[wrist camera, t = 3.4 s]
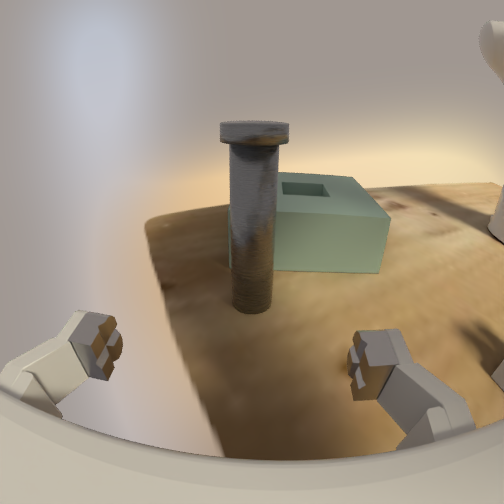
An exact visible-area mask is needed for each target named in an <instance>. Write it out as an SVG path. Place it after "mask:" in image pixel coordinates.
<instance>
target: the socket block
mask: <svg viewBox="0 0 504 504" xmlns="http://www.w3.org/2000/svg"><path fill="white" fill-rule="evenodd" d="M390 221H391V218H390V217H389V216H388V214H387V213H386V212H385V211H384V210H383V209H382V208H381V207H380V206H379V204H378V203H377V202H376V201H375V200H374V199H373V198H372V197H371V196H370V195H369V194H368V193H367V192H366V191H365V190H364V189H363V188H362V187H361V185H360V184H359V183H357V182H356V180H355V179H354V178H353V177H346V176H333V175H320V174H304V173H286V172H278V188H277V210H276V231H275V250H274V269H273V270H284V271H313V272H346V273H379V270H380V266H381V262H382V257H383V253H384V249H385V245H386V240H387V235H388V231H389V226H390ZM228 240H229V268H232V267H231V225H230V205H229V208H228Z"/></svg>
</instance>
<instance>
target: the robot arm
mask: <svg viewBox="0 0 504 504" xmlns="http://www.w3.org/2000/svg"><path fill="white" fill-rule="evenodd" d="M479 45H480V49H481V53H482V55H483V57H484V59H485V61H486V63H487V64H488V65H489V67H490V68H491V69H492V70H493V71H494V72H495V73H496V74H497V76H498V77H499V78H500V79H501V81H502V83H503V84H504V22H500V21H488V22H486V24H485V25H484V26H483V27H482V29H481V31H480V35H479ZM488 229H489V230H490V232H491V233H492V234H493V235H494V236H496V237H497V238H498V239H499V240H501V241H502V242H503V243H504V185H503V188H502V191H501V194H500V197H499V200H498V203H497V206H496V209H495V212H494V214H493V215H491V218H490V222H489V224H488ZM116 326H117V323H116V320H115V317H113V316H110V315H104V314H99V313H94V312H87V311H81V310H78V311H75V313H74V314H73V315H72V317H71V318H70V319H69V321H68V322H67V323H66V325H65V326H64V327H63V329H62V330H61V332H60V333H59V334H58V336H57V337H56V338H51V339H49V340H47V341H46V342H44V343H42V344H40V345H38V346H37V347H35V348H33V349H31V350H29V351H28V352H26V353H24V354H22V355H20V356H19V357H17V358H15V359H13V360H12V361H10V362H8V363H7V364H6V366H5V367H4V369H3V370H2V372H1V373H0V504H504V419H502V420H499V421H497V422H494V423H492V424H489V425H486V426H484V427H481V428H478V429H476V426H475V424H474V421H473V418H472V416H471V413H470V411H469V408H468V406H467V403H466V401H465V399H464V398H462V397H461V396H460V395H458V394H457V393H456V392H455V391H453V390H452V389H451V388H449V387H448V386H447V385H446V384H444V383H443V382H442V381H440V380H439V379H438V378H437V377H435V376H434V375H433V374H431V373H430V372H429V371H427V370H426V369H425V368H424V367H422V366H421V365H420V364H418V363H414V362H413V360H412V357H411V355H410V352H409V350H408V348H407V345H406V343H405V341H404V339H403V336H402V334H401V332H400V330H399V329H384V330H359V331H356V332H355V333H354V336H353V343H354V345H353V346H352V347H351V348H350V349H349V352H348V355H347V371H348V375H349V376H350V377H351V378H352V379H353V380H352V382H351V385H350V386H351V391H352V396H353V401H363V400H377V402H378V403H379V404H380V405H381V406H382V407H383V408H384V409H385V411H386V412H387V413H388V414H389V415H390V416H391V417H392V419H393V420H394V421H395V422H396V423H397V424H398V425H399V426H400V428H401V429H402V430H403V431H404V432H405V433H406V434H407V436H406V437H405V438H404V439H403V440H402V441H401V442H400V443H399V445H398V446H397V447H396V451H390V452H384V453H378V454H371V455H364V456H356V457H346V458H335V459H321V460H251V459H236V458H225V457H215V456H207V455H199V454H192V453H186V452H180V451H174V450H169V449H164V448H159V447H154V446H149V445H145V444H141V443H137V442H132V441H129V440H125V439H121V438H118V437H114V436H111V435H107V434H104V433H100V432H97V431H94V430H91V429H88V428H85V427H82V426H80V425H77V424H74V423H71V422H69V421H66V420H63V419H62V417H63V416H62V413H61V412H60V411H59V410H58V408H57V407H56V406H55V405H56V404H57V403H59V402H60V401H61V400H62V399H63V398H65V397H66V396H67V395H68V394H70V393H71V392H72V391H73V390H75V389H76V388H77V387H78V386H79V385H81V384H82V383H83V382H84V381H85V380H87V379H88V378H89V377H92V378H96V379H100V380H105V381H108V380H109V378H110V376H111V374H112V372H113V370H114V368H115V367H114V364H113V362H114V361H116V360H117V359H119V357H120V355H121V353H122V347H123V342H122V337H121V334H120V333H119V332H118V331H117V330H116V329H115V328H116Z"/></svg>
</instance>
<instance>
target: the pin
mask: <svg viewBox="0 0 504 504" xmlns="http://www.w3.org/2000/svg"><path fill="white" fill-rule="evenodd" d="M220 142H222V143H226V144H229V151H230V225H231V267H232V300H233V306H234V307H235V308H236V309H237V310H238V311H240V312H243V313H247V314H258V313H262V312H264V311H266V310H267V309H269V307H270V306H271V302H272V286H273V269H274V250H275V231H276V210H277V188H278V160H279V145H281V144H287V143H288V142H289V124H288V123H282V122H273V121H228V122H221V123H220Z"/></svg>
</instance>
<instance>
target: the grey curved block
mask: <svg viewBox="0 0 504 504" xmlns="http://www.w3.org/2000/svg"><path fill="white" fill-rule="evenodd" d="M491 377H492V378H493V379H494V381H495V382H496V383H497V384H498V385H499V386H500V387H501V389H502V390H503V391H504V360H503V361H502V362H501V364H500V365H499V366H498V368H497V369H496V370H495V371H494V373H493V374H492V375H491Z"/></svg>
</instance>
